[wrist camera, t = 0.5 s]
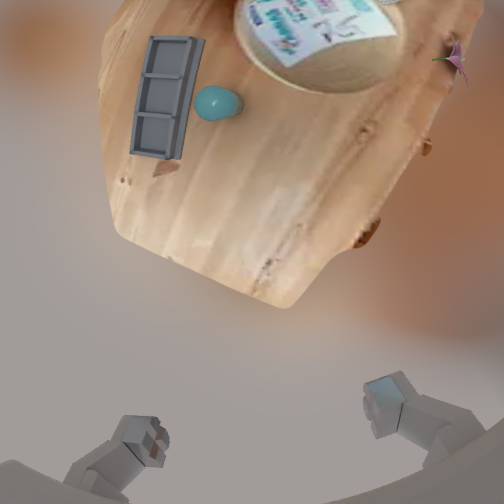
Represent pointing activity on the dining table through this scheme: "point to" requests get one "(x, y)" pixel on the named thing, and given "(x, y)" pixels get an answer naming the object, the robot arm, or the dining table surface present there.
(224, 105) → the teal cylinder
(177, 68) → the cup rack
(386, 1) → the shot glass
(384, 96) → the dining table surface
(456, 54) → the lily
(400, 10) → the dining table surface
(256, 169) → the dining table surface
